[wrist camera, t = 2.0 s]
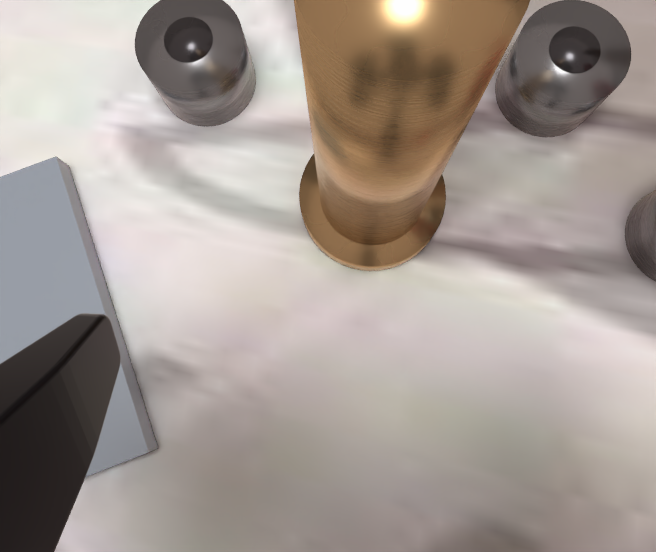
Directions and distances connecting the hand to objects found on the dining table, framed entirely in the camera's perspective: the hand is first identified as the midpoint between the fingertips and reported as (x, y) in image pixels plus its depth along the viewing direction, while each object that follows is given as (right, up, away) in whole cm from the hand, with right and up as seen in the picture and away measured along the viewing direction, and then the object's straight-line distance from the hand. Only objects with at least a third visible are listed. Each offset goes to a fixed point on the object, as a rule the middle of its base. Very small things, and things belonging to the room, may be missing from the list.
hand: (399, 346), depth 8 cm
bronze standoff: (+1, +4, +13) cm, 14 cm away
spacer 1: (-6, +9, +15) cm, 18 cm away
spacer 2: (+8, +9, +14) cm, 18 cm away
